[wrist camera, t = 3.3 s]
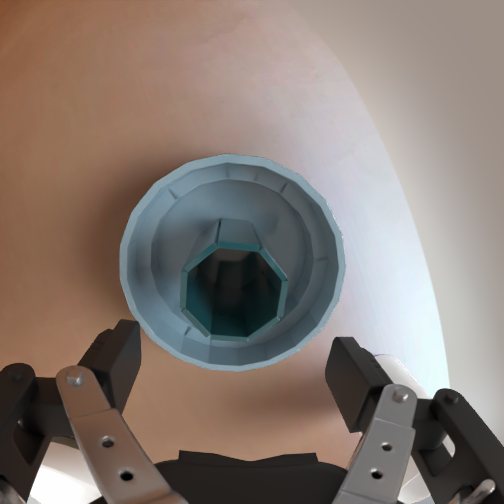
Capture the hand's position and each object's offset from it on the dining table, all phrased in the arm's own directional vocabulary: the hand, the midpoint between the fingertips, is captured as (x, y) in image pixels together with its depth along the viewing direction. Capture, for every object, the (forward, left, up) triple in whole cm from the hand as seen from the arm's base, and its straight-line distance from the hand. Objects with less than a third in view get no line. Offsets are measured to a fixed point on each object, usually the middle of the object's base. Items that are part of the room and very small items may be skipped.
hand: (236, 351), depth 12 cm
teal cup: (0, 0, -15) cm, 15 cm away
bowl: (+20, +38, -16) cm, 46 cm away
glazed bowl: (0, 0, -16) cm, 15 cm away
